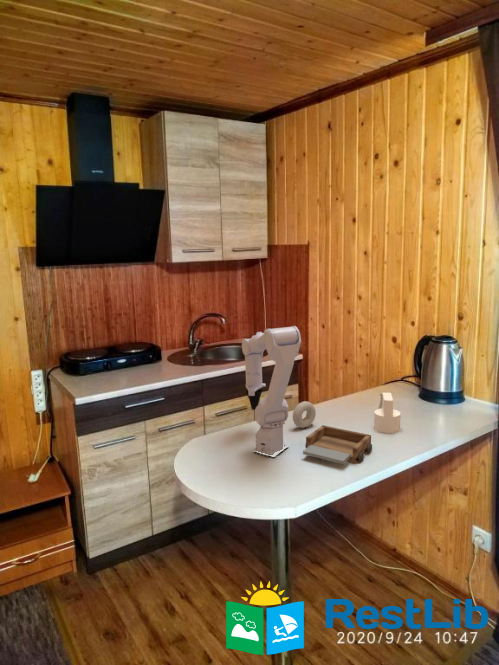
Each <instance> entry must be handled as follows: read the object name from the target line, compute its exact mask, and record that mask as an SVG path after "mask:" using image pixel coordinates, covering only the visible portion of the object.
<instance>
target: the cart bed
mask: <svg viewBox="0 0 499 665" xmlns="http://www.w3.org/2000/svg"><path fill="white" fill-rule="evenodd" d="M310 445H313V446H318V447H322V448H326V449H330V450H335V451H339V452H343V453H348V454H350V458H349V459H348V460H347V461H346V462H345V463H350V464H353V465H355V464H356V463H357V462H360V463H362V462H363V461H364V458H365V454H371V453H372V450H373V444H372V435H371V434H366V433H363V432H356V431H352V430H347V429H343V428H337V427H334V426H333V427H332V426H328V425H321V426H320V427H318V428H316V430H314V431H313V432H311V433H310V434H309V435H307V436H306V437H305V449H306V448H307V447H309V446H310Z"/></svg>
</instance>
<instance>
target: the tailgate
mask: <svg viewBox="0 0 499 665" xmlns="http://www.w3.org/2000/svg"><path fill="white" fill-rule="evenodd" d="M302 454H303V455H305V456H310V457H312V458H313V457H314V458H317V459H320V460H322V461H323V462H327V461H329V462H334V463H337V464H341V465H344V464H345V463H347V462H346V461H347V460H348V459H349V458H350V454H348V453H343V452H339V451H335V450H330V449H326V448H322V447H318V446H313V445H310V446H309V447H307V448H306V447H305V449H304V450H303V451H302Z"/></svg>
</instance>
